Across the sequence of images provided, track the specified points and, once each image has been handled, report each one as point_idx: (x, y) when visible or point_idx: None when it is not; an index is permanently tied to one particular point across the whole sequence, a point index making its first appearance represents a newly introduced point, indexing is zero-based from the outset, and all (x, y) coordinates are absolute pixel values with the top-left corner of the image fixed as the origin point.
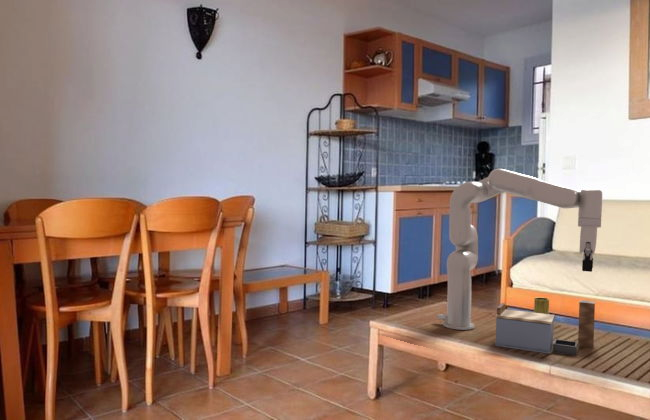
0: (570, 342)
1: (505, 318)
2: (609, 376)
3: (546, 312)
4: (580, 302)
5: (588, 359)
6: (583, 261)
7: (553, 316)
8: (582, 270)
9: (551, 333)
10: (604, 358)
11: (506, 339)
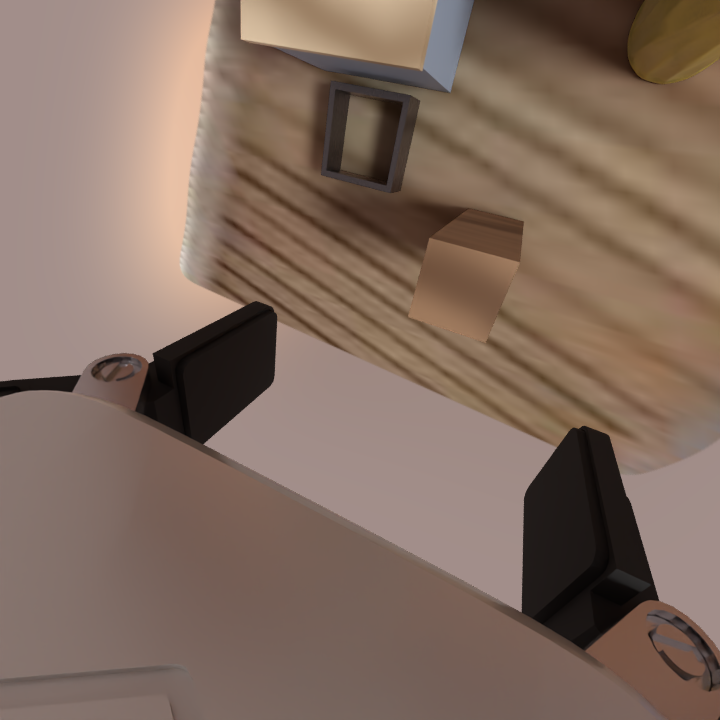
0: (392, 164)
1: None
2: (204, 226)
3: (688, 15)
4: (428, 243)
5: (312, 207)
6: (175, 353)
7: (372, 57)
8: (258, 303)
9: (340, 62)
10: (340, 260)
11: None
